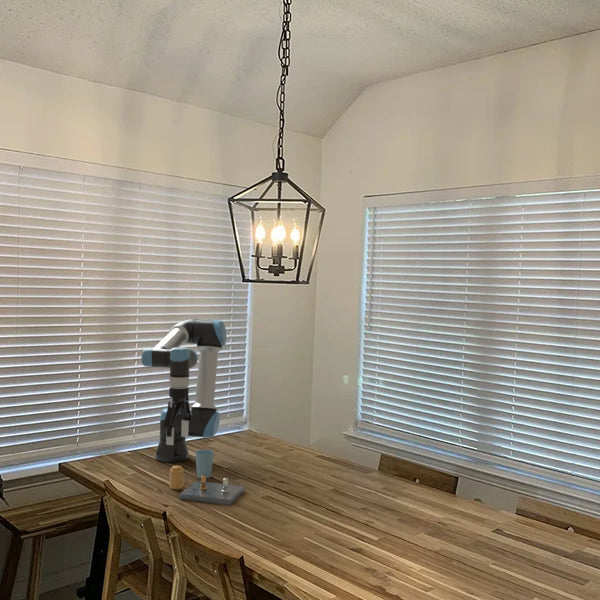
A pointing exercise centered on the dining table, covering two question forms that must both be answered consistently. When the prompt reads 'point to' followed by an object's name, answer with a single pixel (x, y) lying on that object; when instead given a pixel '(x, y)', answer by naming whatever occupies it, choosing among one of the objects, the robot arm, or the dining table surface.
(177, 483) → the wooden jar
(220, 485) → the junction plate
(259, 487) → the dining table surface
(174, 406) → the robot arm
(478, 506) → the dining table surface
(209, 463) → the cup
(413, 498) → the dining table surface
